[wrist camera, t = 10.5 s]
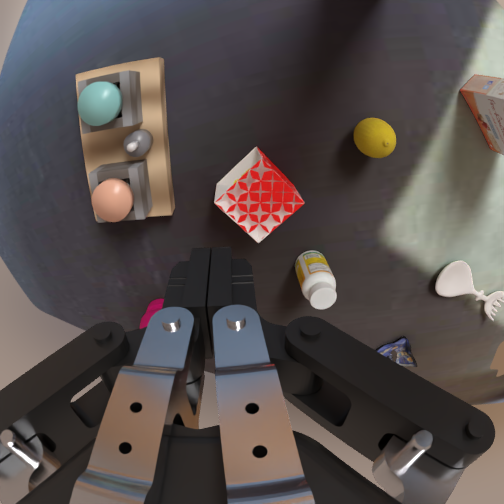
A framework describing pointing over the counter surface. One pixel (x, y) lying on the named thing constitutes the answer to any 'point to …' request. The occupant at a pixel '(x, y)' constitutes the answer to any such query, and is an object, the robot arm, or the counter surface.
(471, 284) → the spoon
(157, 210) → the mount
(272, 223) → the red patterned cube box
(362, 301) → the counter surface
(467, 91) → the cracker box
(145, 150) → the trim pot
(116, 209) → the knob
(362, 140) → the lemon
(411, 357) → the snack package
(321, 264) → the supplement bottle
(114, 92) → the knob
